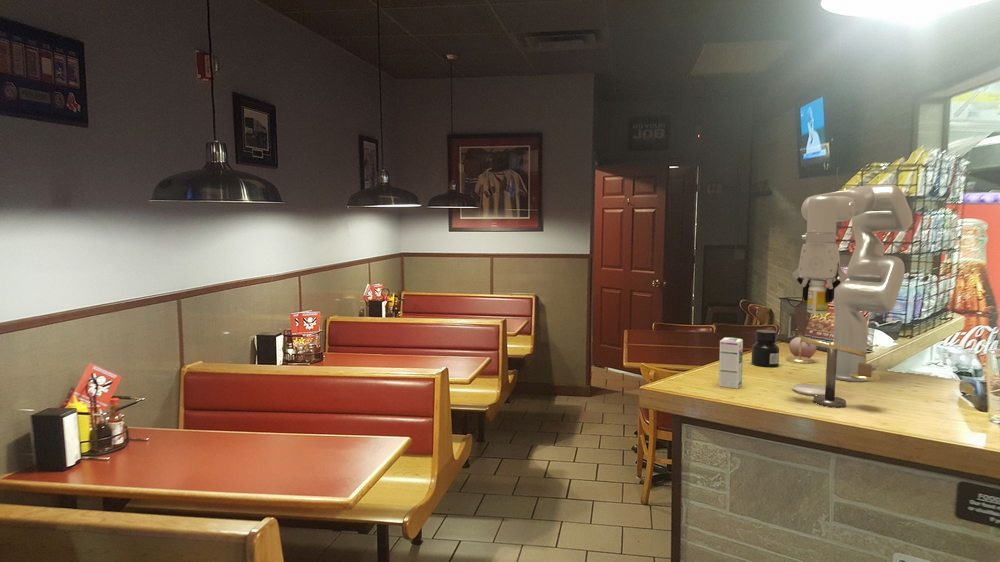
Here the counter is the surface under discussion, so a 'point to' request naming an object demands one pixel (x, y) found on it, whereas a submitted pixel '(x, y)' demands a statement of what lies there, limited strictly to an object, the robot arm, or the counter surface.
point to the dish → (809, 389)
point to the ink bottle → (765, 349)
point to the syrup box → (730, 362)
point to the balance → (834, 370)
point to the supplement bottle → (817, 297)
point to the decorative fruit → (802, 348)
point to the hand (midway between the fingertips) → (817, 300)
